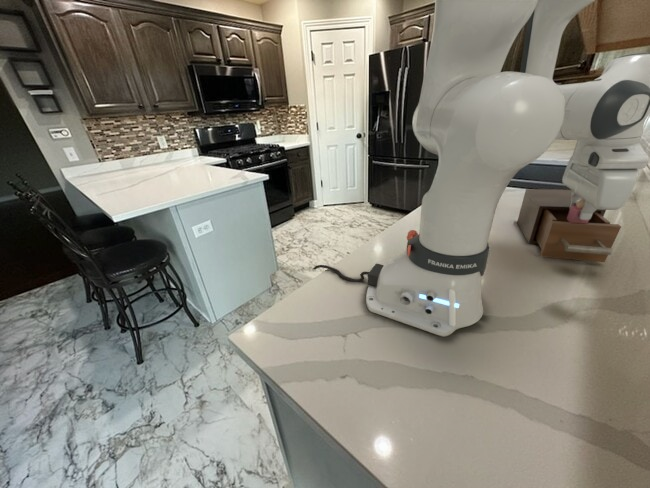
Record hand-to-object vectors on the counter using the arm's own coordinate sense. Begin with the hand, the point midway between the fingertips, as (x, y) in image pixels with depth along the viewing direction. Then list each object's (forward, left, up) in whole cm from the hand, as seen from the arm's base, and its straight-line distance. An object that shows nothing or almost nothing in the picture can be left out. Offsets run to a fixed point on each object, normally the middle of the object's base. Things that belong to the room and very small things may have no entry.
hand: (578, 214), depth 59 cm
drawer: (0, 0, -9) cm, 9 cm away
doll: (0, 0, -2) cm, 2 cm away
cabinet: (0, +11, -10) cm, 15 cm away
